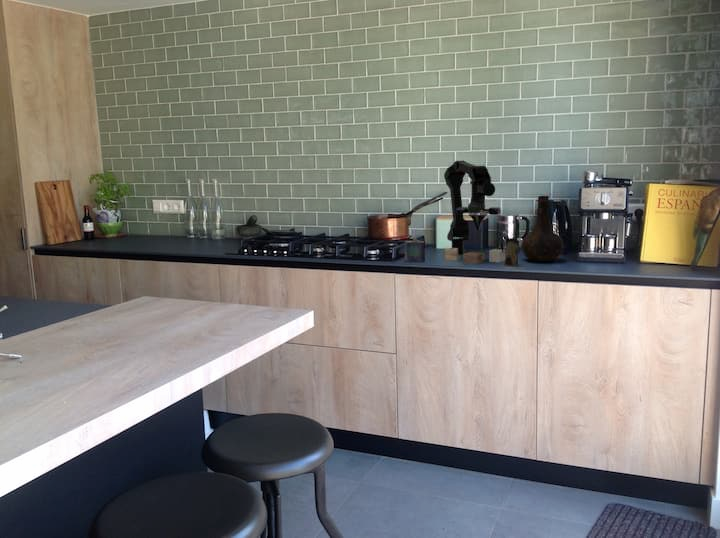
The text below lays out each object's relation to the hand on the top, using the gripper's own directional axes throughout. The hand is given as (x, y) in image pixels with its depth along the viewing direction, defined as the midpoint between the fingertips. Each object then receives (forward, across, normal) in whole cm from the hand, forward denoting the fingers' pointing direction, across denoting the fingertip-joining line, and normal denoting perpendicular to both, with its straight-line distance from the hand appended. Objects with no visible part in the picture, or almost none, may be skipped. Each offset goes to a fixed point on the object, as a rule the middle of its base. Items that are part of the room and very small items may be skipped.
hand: (478, 230), depth 295 cm
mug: (+13, +16, -10) cm, 23 cm away
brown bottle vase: (+13, +27, +6) cm, 31 cm away
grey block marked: (+13, +9, -2) cm, 16 cm away
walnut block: (+13, 0, -6) cm, 15 cm away
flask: (+13, -25, -12) cm, 31 cm away
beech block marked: (+13, -11, -4) cm, 17 cm away
